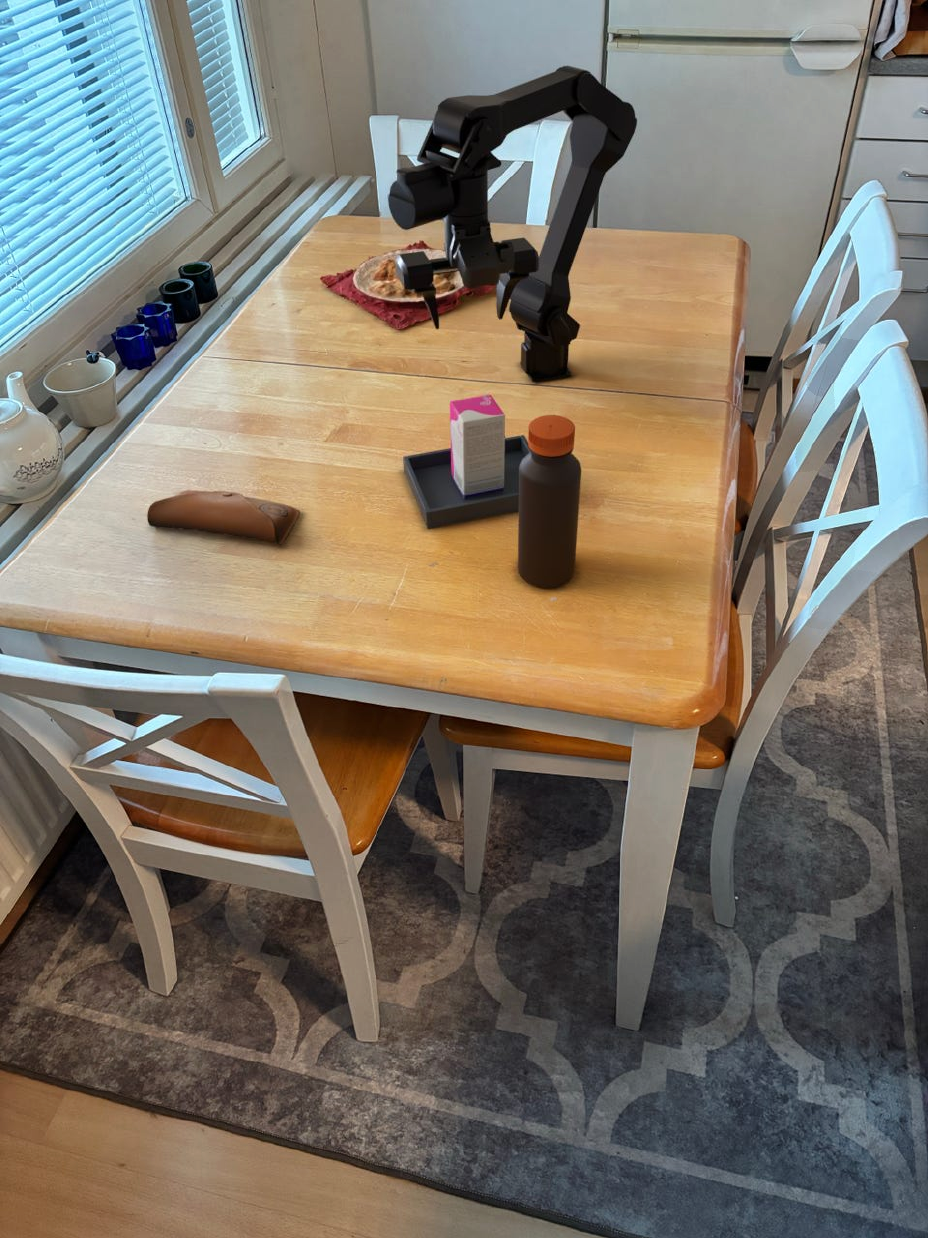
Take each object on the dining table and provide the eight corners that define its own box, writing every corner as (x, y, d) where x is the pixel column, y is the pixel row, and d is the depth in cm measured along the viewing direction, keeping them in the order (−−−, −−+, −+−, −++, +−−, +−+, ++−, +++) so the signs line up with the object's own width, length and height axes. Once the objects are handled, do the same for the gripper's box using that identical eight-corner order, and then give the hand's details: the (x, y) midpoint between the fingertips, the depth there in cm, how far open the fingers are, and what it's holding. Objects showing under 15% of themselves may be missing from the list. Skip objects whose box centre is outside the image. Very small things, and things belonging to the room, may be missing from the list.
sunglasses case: (303, 506, 123) (286, 485, 117) (290, 556, 122) (273, 537, 115) (178, 490, 127) (155, 469, 121) (164, 539, 125) (139, 520, 119)
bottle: (581, 584, 111) (592, 438, 98) (526, 594, 110) (529, 448, 97) (565, 549, 116) (573, 405, 102) (511, 558, 115) (512, 414, 102)
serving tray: (523, 450, 132) (523, 434, 131) (555, 504, 123) (556, 487, 121) (404, 472, 129) (402, 456, 128) (427, 529, 120) (426, 512, 118)
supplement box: (506, 490, 124) (506, 414, 117) (463, 500, 123) (460, 423, 115) (491, 467, 128) (490, 392, 121) (450, 476, 127) (446, 400, 119)
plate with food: (422, 249, 185) (421, 232, 183) (506, 288, 170) (505, 269, 167) (319, 286, 175) (316, 267, 173) (397, 330, 160) (395, 311, 157)
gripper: (410, 241, 115) (417, 359, 125) (555, 221, 118) (550, 338, 129) (390, 209, 123) (399, 323, 133) (526, 192, 126) (524, 304, 137)
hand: (468, 323), depth 133 cm, fingers open, 9 cm apart
